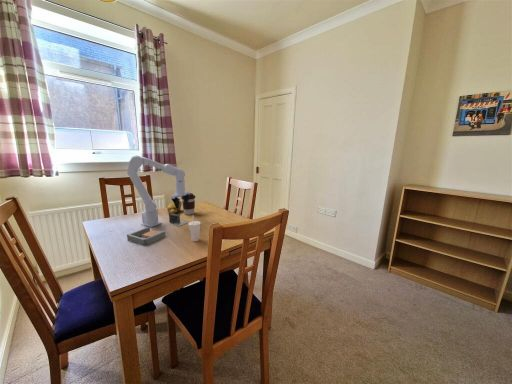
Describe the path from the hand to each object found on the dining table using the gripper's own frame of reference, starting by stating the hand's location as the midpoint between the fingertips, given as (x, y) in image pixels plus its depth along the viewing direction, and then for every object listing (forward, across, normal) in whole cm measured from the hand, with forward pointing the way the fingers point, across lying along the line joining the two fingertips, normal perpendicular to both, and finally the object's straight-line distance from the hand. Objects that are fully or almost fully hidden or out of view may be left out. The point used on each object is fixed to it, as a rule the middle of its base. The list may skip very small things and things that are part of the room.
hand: (181, 206), depth 144 cm
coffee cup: (+10, +13, +6) cm, 17 cm away
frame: (+9, -30, -4) cm, 32 cm away
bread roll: (+10, +10, +18) cm, 23 cm away
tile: (+10, -27, -4) cm, 29 cm away
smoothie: (+10, -20, -29) cm, 37 cm away
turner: (+9, -6, -1) cm, 11 cm away
